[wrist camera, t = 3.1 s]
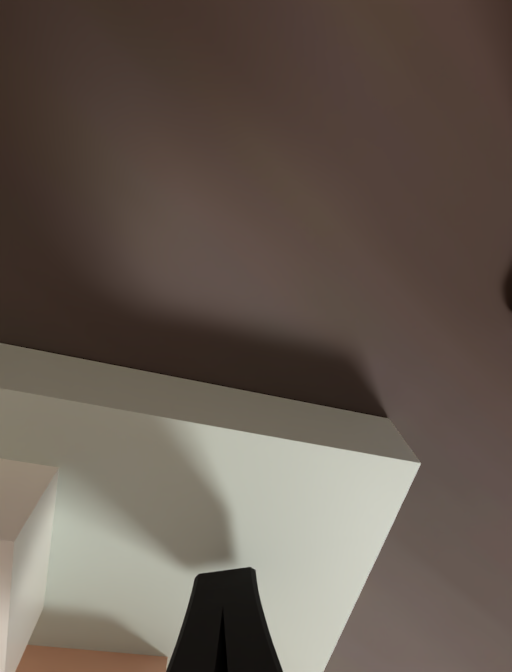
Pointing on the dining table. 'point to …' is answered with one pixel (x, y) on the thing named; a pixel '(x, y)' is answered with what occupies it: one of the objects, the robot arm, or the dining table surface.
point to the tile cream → (23, 552)
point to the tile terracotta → (86, 661)
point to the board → (197, 501)
